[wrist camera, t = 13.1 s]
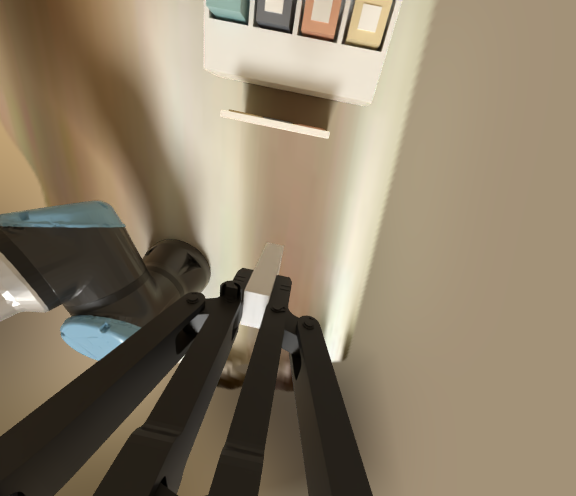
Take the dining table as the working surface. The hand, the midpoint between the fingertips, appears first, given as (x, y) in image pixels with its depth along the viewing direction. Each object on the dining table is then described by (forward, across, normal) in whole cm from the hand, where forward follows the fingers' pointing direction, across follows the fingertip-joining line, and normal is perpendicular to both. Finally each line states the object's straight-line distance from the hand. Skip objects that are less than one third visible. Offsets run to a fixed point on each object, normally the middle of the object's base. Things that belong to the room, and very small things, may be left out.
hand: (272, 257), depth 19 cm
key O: (+25, -7, +23) cm, 35 cm away
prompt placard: (+26, -4, +10) cm, 29 cm away
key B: (+25, -1, +23) cm, 34 cm away
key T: (+25, +5, +23) cm, 34 cm away
